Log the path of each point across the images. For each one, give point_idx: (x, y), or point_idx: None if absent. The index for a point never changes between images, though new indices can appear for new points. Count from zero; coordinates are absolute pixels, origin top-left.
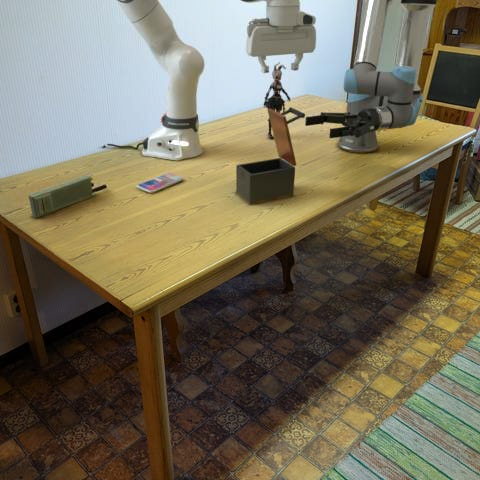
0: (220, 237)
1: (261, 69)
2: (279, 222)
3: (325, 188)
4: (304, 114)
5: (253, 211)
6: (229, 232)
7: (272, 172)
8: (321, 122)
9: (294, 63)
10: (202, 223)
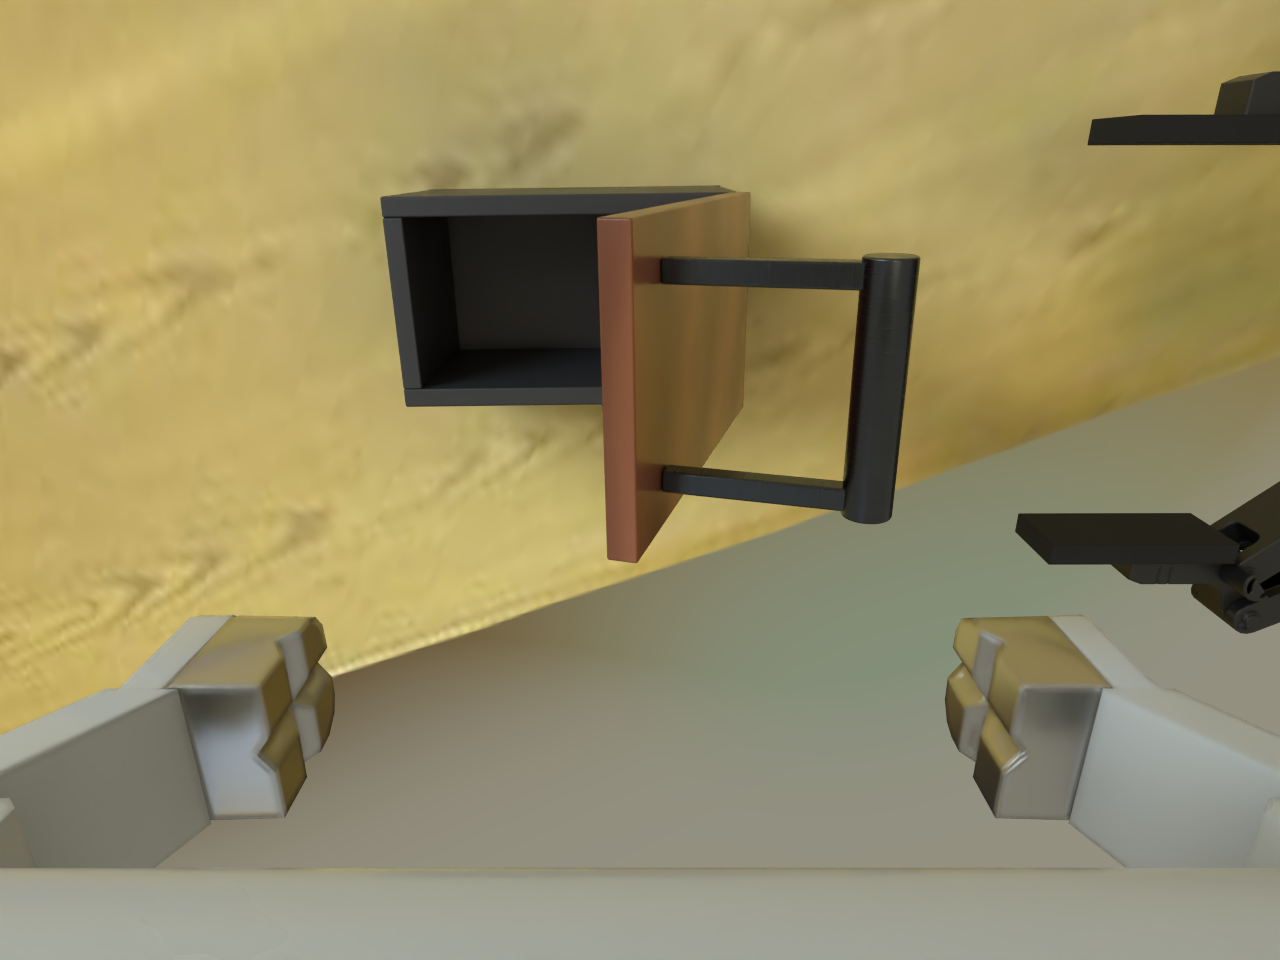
0: (224, 586)
1: (172, 640)
2: (510, 569)
3: (934, 339)
4: (883, 518)
5: (441, 432)
6: (271, 564)
7: (563, 404)
8: (1275, 144)
9: (1071, 741)
10: (171, 449)
